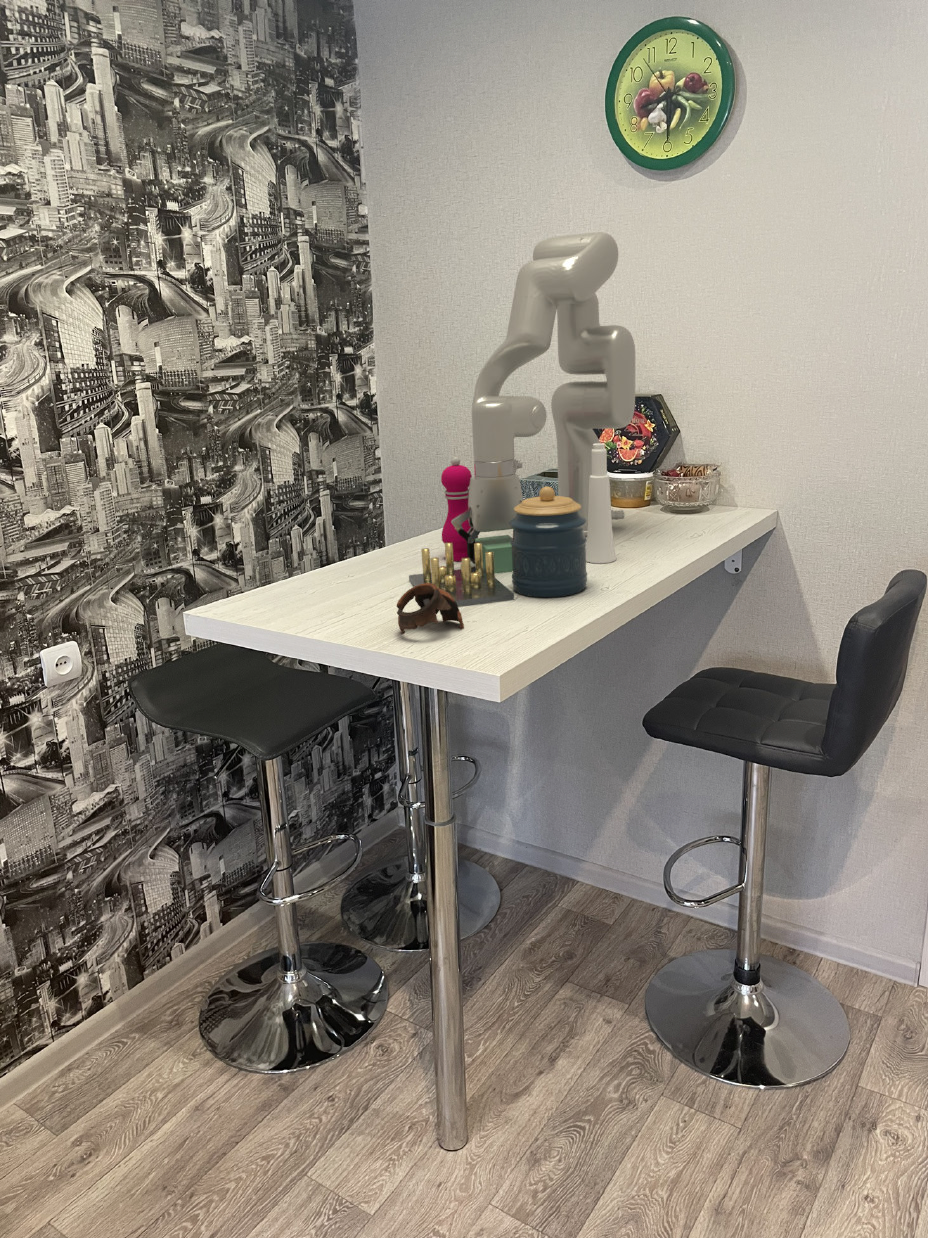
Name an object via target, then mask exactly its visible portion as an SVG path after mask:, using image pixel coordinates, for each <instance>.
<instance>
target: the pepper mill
mask: <svg viewBox="0 0 928 1238" xmlns="http://www.w3.org/2000/svg"><path fill="white" fill-rule="evenodd" d="M450 463H451V465H449V466H447V467H446V468H444V469H443V471H442V473H441V479H440V481H441V482H440V483H441V484H442V486H443V487H444V488H445V490H444V498H445V499H446V501H447V515H446V519H445V521H444V524H443V527H442V530H441V541H442V543H443V544H444V545H445V543H449V542H451V543H453V559H454V562H462V558H468V555H467V541H466V540H465V539H464V538H463V537H462V536H460V535H459V534H458V533H457V531H456V529H455V528H454V526H453V524H452V523H451V521H452V520H453V519H454V518H456V517H457V516H459V515H460V514H462V513H463V512H465V511H467V510H468V495H469V484H470V478H471V477H473V475H472V473H471V471H470V468H468V467H467V466H465V465H463V464H461V460H460V458H459V457H458V456H454V457H452V458H451V460H450ZM461 525H462V528H463V529H464V530H465V531H466V532H468V531H469V529H470V528H471V527H470V526H469V523H468V519H467V520H466V521H464V522H463V523H462V524H461ZM477 538H479V535H478V536H477ZM444 555H445V554H444ZM444 558H445V559H446V555H445V557H444Z"/></svg>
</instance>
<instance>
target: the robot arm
mask: <svg viewBox="0 0 928 1238" xmlns="http://www.w3.org/2000/svg"><path fill="white" fill-rule="evenodd" d="M618 248H619V247H618V244H617V242H616V240H615V239H614V237H613V236H612V235H610V234H609V233H607V232H603V231H600V232H588V233H581V234H570V235H561V236H554V237H548V238H546V239H544V240H543V239H542V240H540V241H539V242H537V244H536V245H535V246H534V247H533V252H532V259H533V260H531V261H528V262H527V263H525V264H523V265H522V266H521V267H520V269H519V271H518V273H517V277H516V282H515V288H514V293H513V297H512V303H511V309H510V315H509V319H508V325H507V331H506V336H505V339H504V341H503V342H502V343H501V344H500V345H499V346H498V347H497V348H496V349H495V350H494V352H493V353H492V354H491V355H490V356H489V358H488V360H487V361H486V363H484V365H483V367H482V368H481V370H480V372H479V374H478V375H477V376H478V377H477V379H476V383H475V388H474V392H473V398H472V405H471V427H472V429H471V430H472V447H473V466H474V467H473V469H474V471H473V472H474V476H472V477H471V478H470V484H469V487H468V489H469V495H468V510H467V511H465V512H463V513H462V514H460V515H459V516H457V517H456V518H454V519H453V520H452V521H451V523H452V524H453V526H454V528H455V529H456V531H457V533H458V534H459V535H460V536H462V537H463V538H464V539H465V540H466V541H467V555H468V558H470V562H471V563H472V564H474V565H475V550H474V543H476V542H475V539H476V538H477V536H478V537H479V535H480V534H481V533H489V532H498V531H508V530H513V528H512V527H511V526H510V521H511V520H512V519H513V518H515V517H516V514H517V513H516V512H515V511H514V508H515V507H516V506H517V505H519V504H520V503H521V502H522V501H523V500H524V495H523V490H522V484H521V481H520V477H519V476H520V475H518V474H517V470H519V469H522V468H523V461H522V460H517V459H516V458H515V441H514V439H515V438H529V437H535V436H536V435H537V434H539V433H540V432H541V431H542V430H543V428H544V427H545V425H546V422H547V410H546V407H545V405H544V403H543V402H542V401H541V400H539V399H538V398H536V397H534V396H527V395H520V396H519V395H517V396H516V395H515V396H514V395H500V393H501V389H502V387H503V385H504V383H505V382H506V380H507V379H508V378H509V377H510V376H511V374H513V373H514V372H515V371H517V370H518V369H520V368H521V367H522V366H524V365H526V364H529V362H531V361H533V360H535V359H537V358H539V357H540V356H542V355H543V354H545V353H546V352H547V351H548V350H549V349H550V347H551V342H552V337H553V332H554V326H555V321H556V320H557V359H558V364H559V367H560V369H561V371H562V372H564V373H566V374H568V375H577V376H578V375H579V376H584V375H585V376H586V375H587V376H588V375H589V376H591V375H605V379H606V381H594V380H593V381H591V380H590V381H588V380H587V381H570V382H565V383H563V384H561V385H560V386H558V387H557V388H556V389H555V390H554V391H553V394H552V396H551V399H550V400H551V403H550V405H551V406H550V407H551V408H550V409H551V413H552V414H551V415H552V418H553V419H552V420H553V424H554V430H555V435H556V451H557V455H556V456H557V486H558V487H557V489H558V490H557V493H558V495H557V496H563V497H569V498H571V499H572V500H573V501H575V502H576V503H578V504H580V505H581V509H580V510H578V511H579V514H580V515H582V516H583V517H585V518H586V523H585V524H584V526H583V532H584V536H585V537H587V531H588V505H589V479H590V476H591V475H592V453H591V452H592V449H594V447H593V444H595V443H601V442H600V439H599V438H598V436H597V434H596V433H595V430H594V429H601V430H602V429H605V430H607V429H610V430H612V429H613V430H614V429H615V430H617V429H623V428H625V427H627V426H629V425H630V423H631V422H632V421H633V417H634V414H635V408H636V345H635V340H634V338H633V335H632V333H631V331H629V329H627V328H626V327H625V326H621V325H615V324H613V325H612V324H611V325H601V324H600V303H599V298H598V295H597V294H596V293H597V291H598V290H600V289H601V287H602V286H603V285H604V284H605V283H606V282H607V281H608V280H609V279H610V278H611V277H612V276H613V274H614V272H615V271H616V268H617V265H618V261H619V249H618ZM556 318H557V319H556ZM611 518H612V521H613V520H623V519H625V512H624V510H622V509H620V510H615V511H614V510H613V509H611ZM467 519H468V523H469V526H470V527H471V528H470V529H469V531H468V532H466V531H465V530H464V529H463V528H462V525H461V524H462V523H463V522H464V521H466V520H467Z"/></svg>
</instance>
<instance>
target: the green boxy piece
mask: <svg viewBox="0 0 928 1238" xmlns="http://www.w3.org/2000/svg"><path fill="white" fill-rule="evenodd" d="M512 539H513V536H511V535H509V534H504V535H495V536H493V535H492V536H485V537H478V538H476V539H475V542H476V543H478V542H480V543H482V553H483V568H484V569H486V554H485V552H488V551H492V552H494V571H495V573H497V574H503V573H504V574H506V573H513V572H512V571H513V570H512V546H511V544H510V541H511V540H512Z"/></svg>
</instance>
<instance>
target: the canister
mask: <svg viewBox="0 0 928 1238" xmlns="http://www.w3.org/2000/svg"><path fill="white" fill-rule="evenodd" d="M580 509H581V505H580V504H578V503H576V502H575V501H573V500H572V499H571V498H569V497H563V496H558V495H556V492H555V489H554V488H553V487H552V486H543V487H542V488H540V489H539V493H538V496H534V497H530V498H525V499H523V501H522V502H521V503H520V504H519V505H517V506H516V507H515V508H514V511H515V512H516V513H517V514H516V517H515V518H513V519H512V520H511V521H510V526H511V527H512V528H513V529H512V538H513V539H512V540H511V541H510V544H511V546H512V570H513V572H511V573H512V574H511V583H512V585H513V590H514V591H515V592H516V593H518V594H520V595H524V596H528V597H534V598H556V597H557V598H559V597H565V596H571V595H575V594H578V593H580V592H582V591H583V590H585V589H586V587H587V582H588V572H587V562H586V544H587V536H584V532H583V526H584V524H585V523H586V518H585V517H583V516H582V515H580V514H579V511H578V510H580Z"/></svg>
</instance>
